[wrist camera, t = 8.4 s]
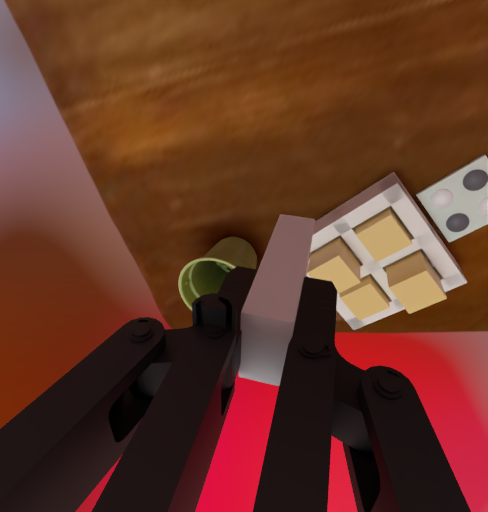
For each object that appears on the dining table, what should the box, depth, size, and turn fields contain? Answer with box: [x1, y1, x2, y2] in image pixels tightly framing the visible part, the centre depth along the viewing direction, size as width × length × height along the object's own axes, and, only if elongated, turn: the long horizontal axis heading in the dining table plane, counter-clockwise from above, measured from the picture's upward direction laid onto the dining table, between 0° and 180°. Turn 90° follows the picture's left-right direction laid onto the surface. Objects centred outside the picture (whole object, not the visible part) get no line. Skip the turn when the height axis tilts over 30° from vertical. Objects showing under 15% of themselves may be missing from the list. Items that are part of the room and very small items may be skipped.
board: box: [307, 172, 467, 330], centre depth 42 cm, size 14×14×4 cm
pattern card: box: [416, 154, 488, 242], centre depth 37 cm, size 7×7×1 cm
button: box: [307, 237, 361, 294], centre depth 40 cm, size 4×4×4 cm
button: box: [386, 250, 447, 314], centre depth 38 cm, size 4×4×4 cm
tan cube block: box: [340, 274, 390, 321], centre depth 43 cm, size 4×4×4 cm
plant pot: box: [179, 237, 257, 310], centre depth 45 cm, size 9×9×9 cm
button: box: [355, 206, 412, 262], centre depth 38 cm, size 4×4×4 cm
